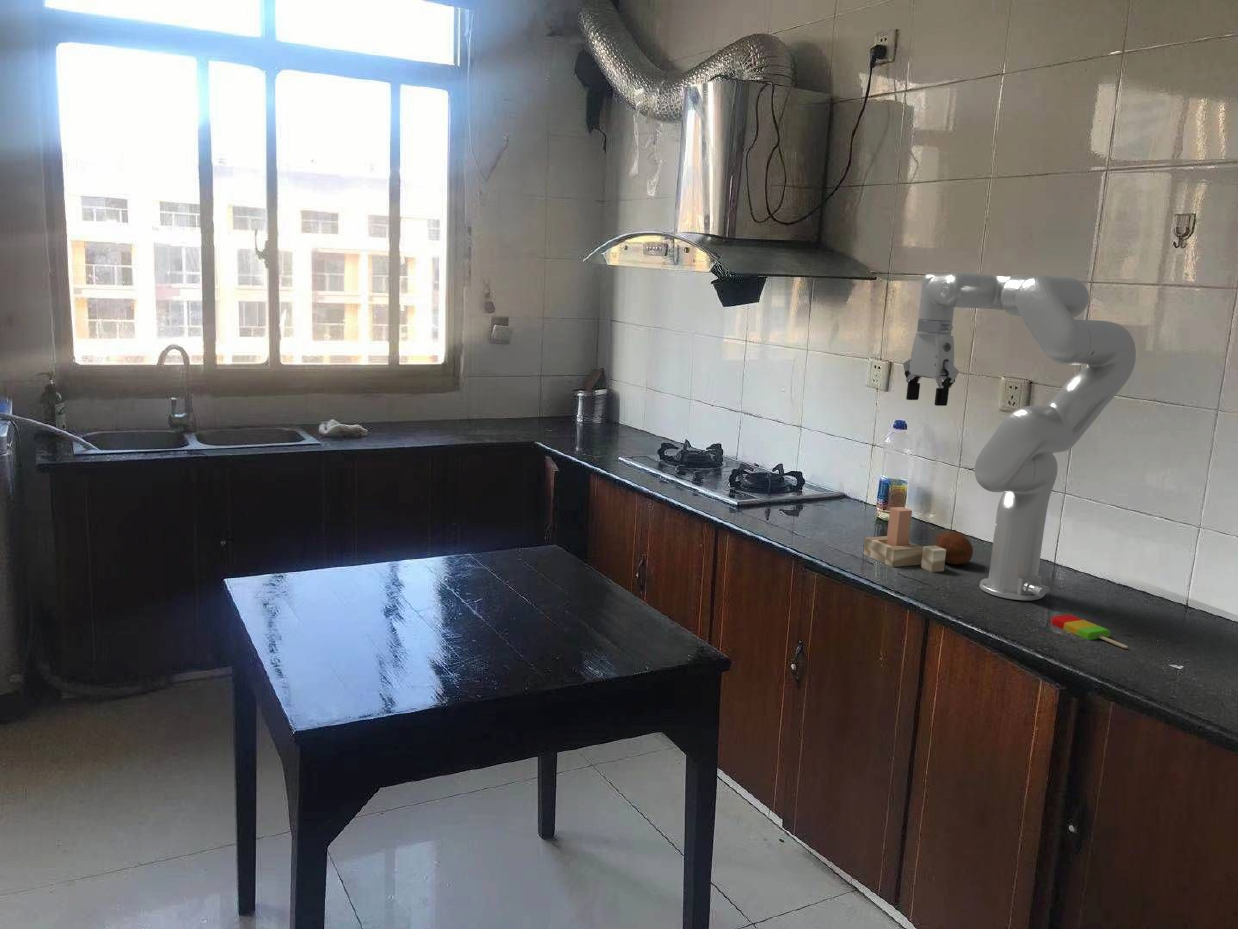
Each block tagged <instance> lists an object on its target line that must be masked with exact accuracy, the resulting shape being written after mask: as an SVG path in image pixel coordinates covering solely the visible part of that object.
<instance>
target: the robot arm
mask: <svg viewBox="0 0 1238 929" xmlns="http://www.w3.org/2000/svg"><path fill="white" fill-rule="evenodd" d="M920 291H921V292H920V297H919V298H920V299H919V310H918V319H917V327H916V328H917V329H916V333H915V335H914V339H913V342H912V343H913V344H912V348H911V352H910V358H909V359H908V360H906V361H904V362H903V370H904V376H905V377H906V379H905V381H906V382H905V383H907V387H906V395H905V397H906V398H905V400H907V401H918V400H919V399H920V398H919V397H920V388H921V382H920V380H921V379H922V378H926V379H933V380H935V381H936V383H937V386H938V387H936V389H935V396H934V406H936V407H942V406H943V407H945V406H947V405H948V401H949V394H950V392H949V391H950V389H951V388H952V387H953V386H952V385H953V384H954V383H955V382H956V379H957V377H958V375H959V369H958V368H956V366H955V365H954V362H955V340H954V336H953V335H952V330H953V328H954V326H953V320H954V312H955V308H960V309H961V308H962V309H964V308H969V309H982V310H983V309H984V310H985V309H986V310H997V311H1004V312H1006V313H1007V314H1009V315H1011V316H1015V317H1017V316H1018V317H1021V320H1022V321H1023V322H1024V323H1023V324H1024V325H1025V326H1026V327H1027V329H1028V330H1029V331H1030V333H1031V334H1032V336H1033V338H1034V339H1035V341H1036V342H1037V344H1038V345H1039V347H1040V348H1041V350H1042V351H1043V352H1044V354H1045V355H1046V357H1048V358H1049V359H1050V360H1051V361H1053V362H1055V363H1057V364H1060V365H1063V366H1064V365H1065V366H1084V367H1083V368H1082V369H1081V370H1080V371H1078V372H1077V373H1075V374H1074V375H1073V376H1072V377H1070V378H1068V380H1067V381H1065V383H1064V384H1063V385H1062V387H1060V390H1059V391H1058V392H1057V393H1056V394H1055V396H1054V397H1053V398H1052V399H1051V400H1050V401H1049V402H1047V403H1046V404H1042V405H1027V406H1025V405H1024V406H1023V407H1022V406H1021V407H1019V408H1017V409H1015V410H1014V411H1012V412H1011V413H1010V414H1008V415H1007V417H1006V418H1004V419H1003V421H1002V422H1001V423H1000V425H999V426H998V427H997V429H996V430H995V431H994V433H993V434H992V435H991V437H990V438H989V439H988V441H987V442H986V444H985V445H984V446H983V447H982V449H981V450H980V452H979V454H978V456H977V458H976V459H975V460H976V461H975V464H974V476H975V477H974V478H975V480H976V482H977V483H978V485H979V486H980V488H983V489H984V490H986V491H988V492H992V493H1002V495H1001V496H1000V499H999V501H998V504H997V509H996V515H995V516H996V517H995V525H994V533H993V540H992V547H991V556H990V562H989V563H990V564H989V570H988V571H989V573H988V577H985V578H983V579H981V580H980V582H979V588H980V589H981V590H982V591H983V592H985V593H987V594H990V595H992V596H996V597H999V598H1003V599H1008V600H1016V601H1038V600H1040V599H1042V598H1044V597H1045V595H1046V594H1048V593H1049V592H1050V590H1051V589H1050V587H1049V586H1046V585H1045V584H1042V579H1043V578H1042V577H1043V576H1040V575H1039V569H1040V564H1041V563H1040V561H1041V556H1042V549H1043V548H1042V547H1043V541H1044V533H1045V526H1046V525H1045V524H1046V520H1047V514H1048V513H1047V512H1048V507H1049V501H1050V498H1051V495H1052V491H1053V488H1054V486H1055V483H1056V479H1057V475H1058V470H1059V469H1058V462H1057V458H1056V456H1055V454H1056V453H1062V452H1063V453H1064V452H1066V451H1069V450H1071V449H1072V448H1073V447H1074V446H1075V444H1077V442H1078V441H1079V440H1080V439H1081V438H1082V437H1083V435H1084V434H1085V433H1086V431H1087V430H1088V429H1089V428H1090V427H1091V426H1092V424H1093V423H1094V422H1095V421H1096V419H1098V417H1099V415H1100V414H1101V413H1102V412H1103V410H1104V409H1105V408H1106V407H1107V405H1108V404H1109V403H1110V402H1111V401H1112V400H1113V399H1114V397H1115V396H1117V395H1118V394H1119V392H1121V390H1122V389H1123V387H1124V386H1125V384H1127V382H1128V380H1129V379H1130V378H1131V375H1132V373H1133V371H1134V368H1135V365H1136V359H1137V357H1136V356H1137V348H1136V344H1135V339H1134V338H1133V336H1132V334H1131V333H1130V331H1128V329H1127V328H1125V327H1124V326H1123V325H1120V324H1119V323H1116V322H1112V321H1106V320H1095V319H1094V320H1092V319H1075V318H1076V317H1078V316H1080V315H1081V314H1082V313H1083V312H1085V310H1086V309H1087V308H1088V304H1089V302H1090V294H1089V290H1088V288H1087V286H1086V285H1085V284H1084V283H1083V282H1082V281H1081V280H1078V279H1076V278H1073V277H1069V276H1059V275H1042V274H1030V273H1029V274H1027V273H1026V274H1025V273H1016V274H1013V275H1011V276H1010V275H999V274H997V275H996V274H989V273H988V274H986V273H974V272H973V273H971V272H951V273H950V272H948V273H943V272H942V273H940V272H939V273H937V272H930V273H926V274H925V275H924V276H923V278H922V282H921V290H920Z"/></svg>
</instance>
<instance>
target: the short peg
mask: <svg viewBox="0 0 1238 929" xmlns="http://www.w3.org/2000/svg"><path fill="white" fill-rule="evenodd" d="M922 547H923V554H922V563H921V564H920V568H921V569H924V570H926V571H928V572H930V573H936V572H937V573H938V572H944V571H945V564H946V563H945V562H946V561H945V556H946V549H943V548H941V547H938V546H936V545H935V544H934V545H926V546H922Z"/></svg>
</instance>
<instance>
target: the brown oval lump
mask: <svg viewBox="0 0 1238 929" xmlns="http://www.w3.org/2000/svg"><path fill="white" fill-rule="evenodd" d="M935 545H936V546H938V547H941V548H943V549H946V556H945V562H946V563H947V564H950V565H962V564H967V563H969V561H971V560H972V557H973V553H974V547H973V546H972V543H971V541H970V540H969V539H968V538H967V536H966V535H965V534H963V533H961V532H958V531H954V530H953V531H949V532H941V533H940V534H938V536H937V537H936V538H935V542H934V546H935Z"/></svg>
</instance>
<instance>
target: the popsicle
mask: <svg viewBox="0 0 1238 929" xmlns="http://www.w3.org/2000/svg"><path fill="white" fill-rule="evenodd" d="M1050 623H1051V625H1052V626H1055V628H1059V629H1061V630H1064V631H1066V632H1069V633H1071V634H1072V635H1073V634H1074V635H1076V636H1078V637H1081V638H1083V639H1085V640H1088V641H1091V640H1092V641H1093V640H1099V639H1101V640H1104V641H1106V642H1107V643H1108V642H1109V643H1111V644H1113V645H1115V646H1118V647H1120V648H1122V649H1128V645H1125V644H1123V643H1121V642H1118V641H1116V640H1113V639H1111V638H1110V636H1111V630H1109V629H1107V628H1105V627H1102V626H1101V625H1097V624H1095V623H1093V622H1091V621H1087V620H1085V619H1083V618H1080V617H1077V616H1075V615H1073V614H1062V615H1061V614H1060V615H1053V617H1052V618H1051V622H1050Z"/></svg>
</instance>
